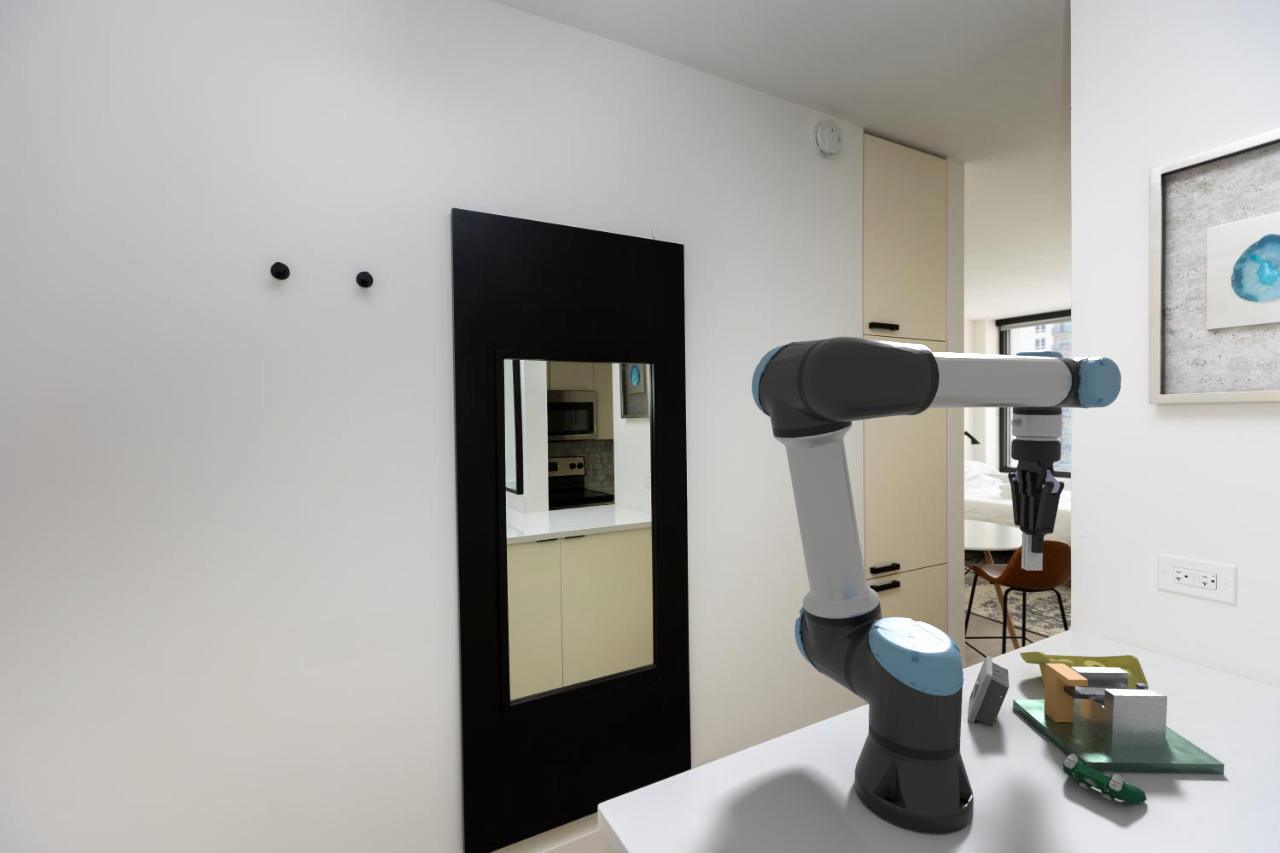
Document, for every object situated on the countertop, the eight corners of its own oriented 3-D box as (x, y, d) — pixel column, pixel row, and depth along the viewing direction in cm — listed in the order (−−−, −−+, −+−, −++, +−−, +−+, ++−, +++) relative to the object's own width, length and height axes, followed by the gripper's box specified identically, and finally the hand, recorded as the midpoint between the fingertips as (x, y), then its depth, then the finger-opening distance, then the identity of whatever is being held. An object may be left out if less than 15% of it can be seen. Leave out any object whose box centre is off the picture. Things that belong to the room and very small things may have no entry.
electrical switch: (969, 700, 115) (976, 651, 114) (1001, 709, 112) (1008, 660, 111) (967, 723, 107) (975, 671, 106) (1002, 734, 104) (1010, 681, 103)
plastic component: (1099, 657, 128) (1141, 654, 119) (1109, 696, 125) (1152, 697, 116) (1009, 653, 126) (1044, 650, 117) (1016, 693, 123) (1053, 694, 114)
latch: (1066, 731, 101) (1068, 679, 100) (1044, 712, 107) (1045, 663, 106) (1086, 732, 101) (1087, 679, 100) (1061, 713, 107) (1063, 663, 106)
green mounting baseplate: (1085, 771, 93) (1087, 709, 92) (1012, 707, 112) (1014, 655, 111) (1223, 773, 92) (1226, 711, 92) (1127, 708, 111) (1129, 656, 111)
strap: (1074, 699, 101) (1074, 693, 101) (1063, 691, 103) (1064, 685, 103) (1160, 702, 100) (1160, 695, 100) (1147, 694, 103) (1148, 688, 103)
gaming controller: (1066, 784, 93) (1051, 765, 91) (1076, 761, 94) (1062, 742, 92) (1139, 821, 85) (1125, 801, 83) (1150, 795, 86) (1136, 775, 84)
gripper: (994, 435, 118) (991, 559, 120) (1037, 441, 105) (1032, 579, 106) (1035, 435, 118) (1031, 559, 119) (1082, 441, 105) (1077, 580, 106)
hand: (1031, 568), depth 113 cm, fingers closed
